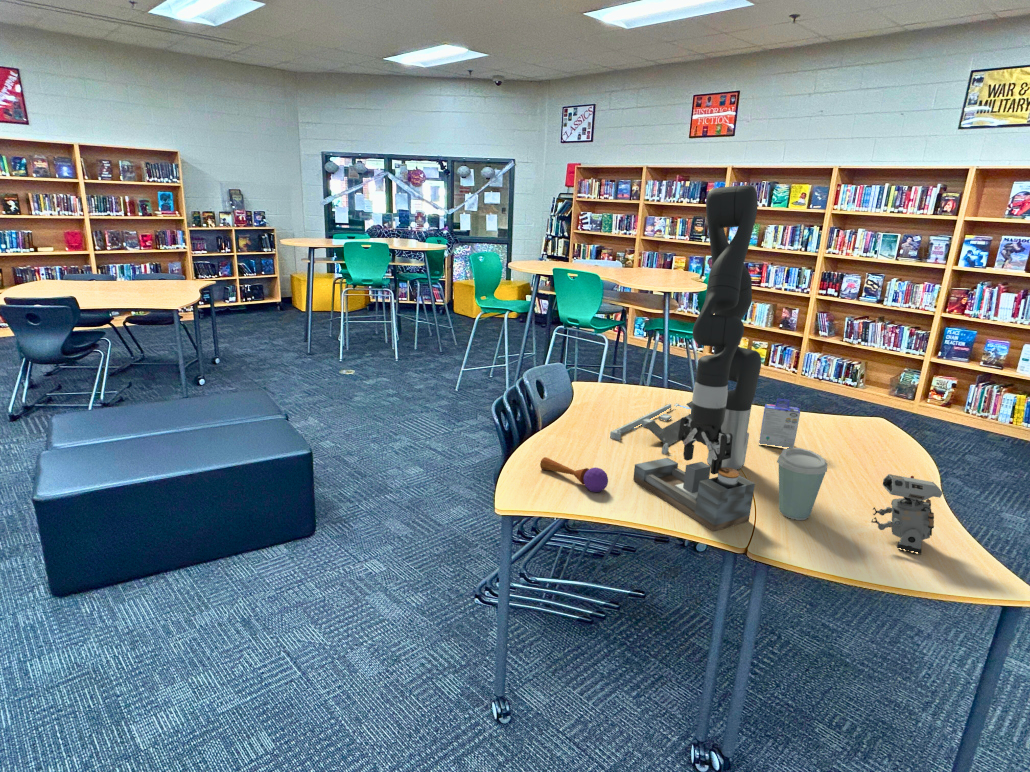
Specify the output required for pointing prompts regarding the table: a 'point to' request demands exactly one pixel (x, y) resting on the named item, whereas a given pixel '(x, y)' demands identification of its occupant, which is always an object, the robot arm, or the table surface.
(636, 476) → the grey stepped base
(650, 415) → the paper cutter
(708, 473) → the carriage
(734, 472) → the button
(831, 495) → the table surface
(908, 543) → the figurine
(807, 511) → the disposable coffee cup
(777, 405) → the ink cartridge box
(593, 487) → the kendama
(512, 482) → the table surface
